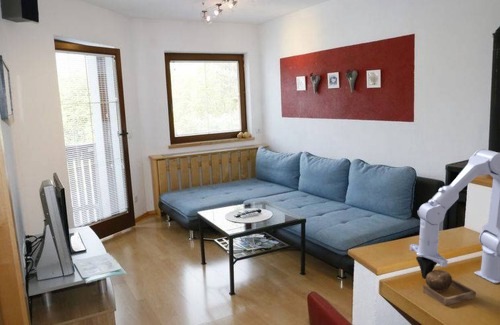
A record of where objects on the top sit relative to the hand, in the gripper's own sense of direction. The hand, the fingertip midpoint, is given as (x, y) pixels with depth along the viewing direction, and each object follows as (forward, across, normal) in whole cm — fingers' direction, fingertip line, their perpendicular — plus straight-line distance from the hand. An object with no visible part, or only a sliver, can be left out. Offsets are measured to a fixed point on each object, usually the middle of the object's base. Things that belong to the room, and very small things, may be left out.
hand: (425, 277), depth 132 cm
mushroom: (+1, +5, 0) cm, 5 cm away
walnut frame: (+1, +10, 0) cm, 10 cm away
